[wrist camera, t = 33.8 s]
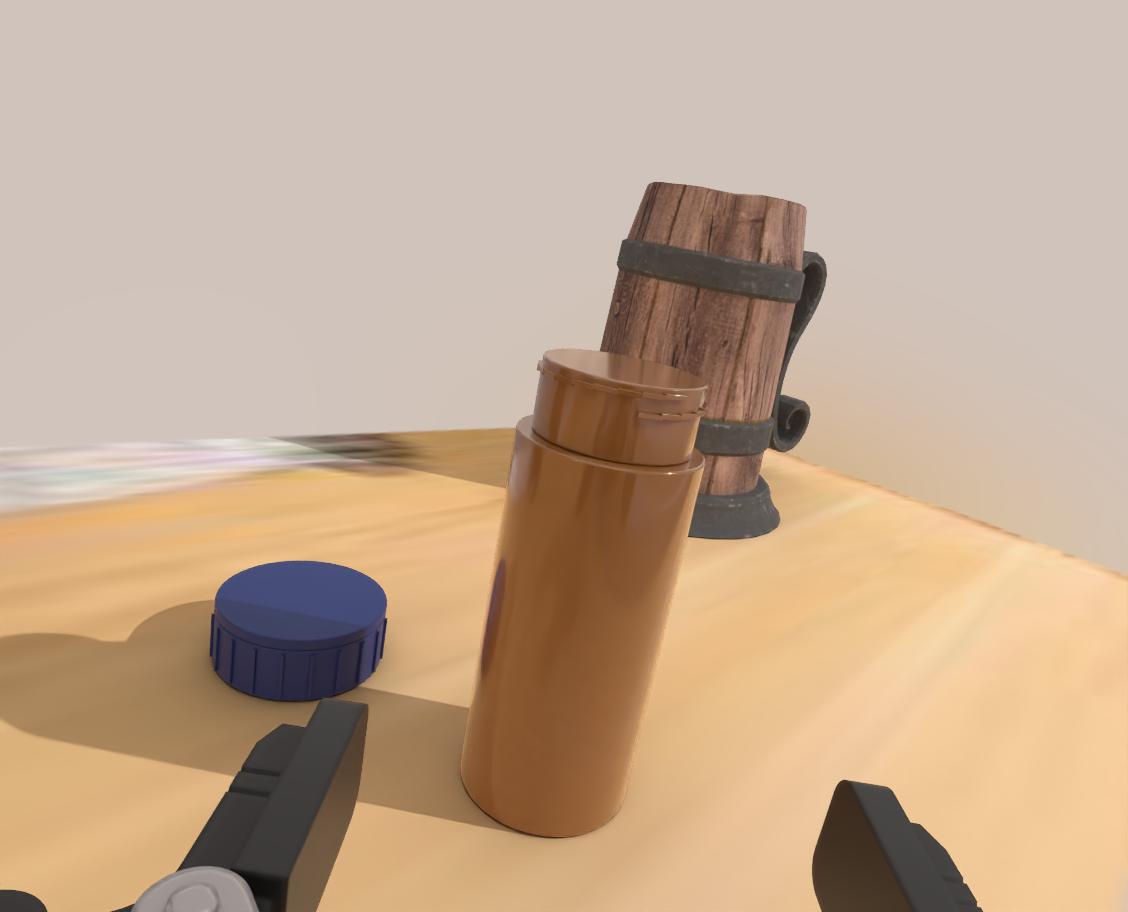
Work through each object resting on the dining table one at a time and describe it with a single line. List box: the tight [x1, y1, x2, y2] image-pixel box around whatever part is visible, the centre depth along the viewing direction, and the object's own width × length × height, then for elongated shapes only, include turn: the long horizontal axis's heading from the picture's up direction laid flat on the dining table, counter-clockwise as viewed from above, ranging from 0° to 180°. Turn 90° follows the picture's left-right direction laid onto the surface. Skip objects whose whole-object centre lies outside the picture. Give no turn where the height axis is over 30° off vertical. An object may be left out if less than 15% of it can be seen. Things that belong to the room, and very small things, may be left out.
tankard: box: [600, 182, 827, 539], centre depth 53 cm, size 24×17×20 cm
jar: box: [460, 349, 708, 837], centre depth 22 cm, size 5×5×13 cm
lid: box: [210, 561, 387, 701], centre depth 27 cm, size 6×6×2 cm
